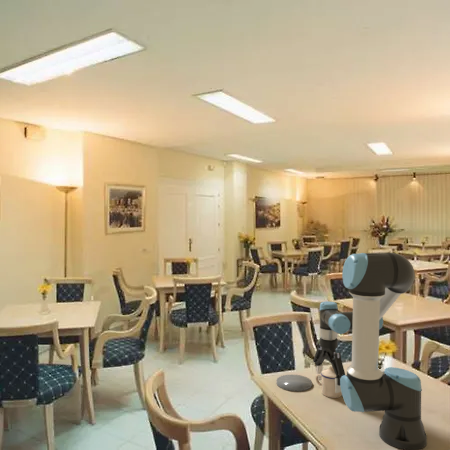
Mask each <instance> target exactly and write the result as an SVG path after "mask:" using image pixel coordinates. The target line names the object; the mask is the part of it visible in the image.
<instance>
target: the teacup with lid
mask: <svg viewBox="0 0 450 450" xmlns="http://www.w3.org/2000/svg"><path fill="white" fill-rule="evenodd" d="M338 375H339V374H338ZM318 376H321V377H322V380H321V382H320V380H319V381H318ZM335 377H336V374H335V372H334V369H333V367H332V366H329V368H326V369H323V371H322V372H321V374H318V375H317V374H316V376H315V382H316V384H317V385H319V387H320V386H321V394H322V395H323V396H325V397H326V398H333V399H335V398H341V397H343V396H342V392H339V393H335Z"/></svg>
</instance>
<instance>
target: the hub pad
mask: <svg viewBox="0 0 450 450" xmlns="http://www.w3.org/2000/svg"><path fill="white" fill-rule="evenodd" d="M276 385H277V387H278V388H280V389H283V390H285V391H289V392H304V391H308V390H309V389H311V388H312V386H313V381H312V379H310V378H309V377H307V376H305V375H300V374H283V375H280V376H279V377H277V378H276Z"/></svg>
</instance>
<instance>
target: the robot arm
mask: <svg viewBox="0 0 450 450" xmlns="http://www.w3.org/2000/svg"><path fill="white" fill-rule="evenodd" d="M414 269H415V268H414V266H413V265H412V263H411V261H409V259H407V258H406V257H405V256H404V255H402V254H399V253H396V252H360V253H359V252H358V253H352V254H350V255H349V256H347V258H346V259H345V262H344V263H343V267H342V275H341V276H342V278H341V279H342V282H343V286H344V287H345V288H346V289H348V293H349V294H350V296H351V297H352V311H339V307H338V303H337V302H335V301H330V300H329V301H322V302H320V304H319V310H318V312H319V344H317V346H316V351H315V354H314V357H313V361H312V362H313V363H314V364H315V368H316V375H318V374H321V372H322V371H323V370H324V366H323V363H324V362H325V360H328V362H329V363H330V364H331V367H333V369H334V372H335V374H336V377H335V393H339V392H342V396H341V397H343V401H344V403H345V406H346V407H347V408H348V409H349V410H350V412H354V413H357V412H358V413H359V412H360V413H365V412H366V413H367V412H383V411H384V412H383V416H382V419H381V423H380V425H379V426H378V435H379V437H380V439H381V440H382V441H383V442H384V443H386V444H388V445H389V446H392V447H394V448H397V449H401V450H422V449H423V448H425V447H426V446H427V444H428V443H427V442H428V441H427V440H428V437H427V433H426V431H425V427H424V424H423V420H422V391H423V389H422V380H421V379H420V377H419V375H417V374H416V373H414V372H413V371H410V370H407V369H404V368H399V367H393V366H391V367H390V366H389V367H386V368H384V369H385V371H384V373H385V374H383V373H382V371H381V370H380V369H379V368H378V366H379V347H380V346H379V345H380V342H379V341H380V330H381V329H382V328H383V325H384V316H385V314H386V313H387V312H388V311H389V309H390V308H391V307H392V306H393V305H394V303H395V302H396V301H397V300H398V298H399V297H400V296H401V295H402V294H405V293H407V292H408V291H409V290H410V289H411V288H412V286H413V284H414V282H415V276H416V275H415V270H414ZM348 331H349V332H350V331H351V332H352V333H351V334H352V336H351V339H352V340H351V364H350V365H349V366H347V368H346V372H345V369H344V364H343V361H342V355H341V354H342V353H341V352H337V351H336V349H337V348H338V347H339V346H338V335H339V334H340V335H341V334H345V333H347V332H348ZM338 374H339V375H338ZM318 381H319V382H320V381H322V377H321V376H318Z"/></svg>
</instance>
